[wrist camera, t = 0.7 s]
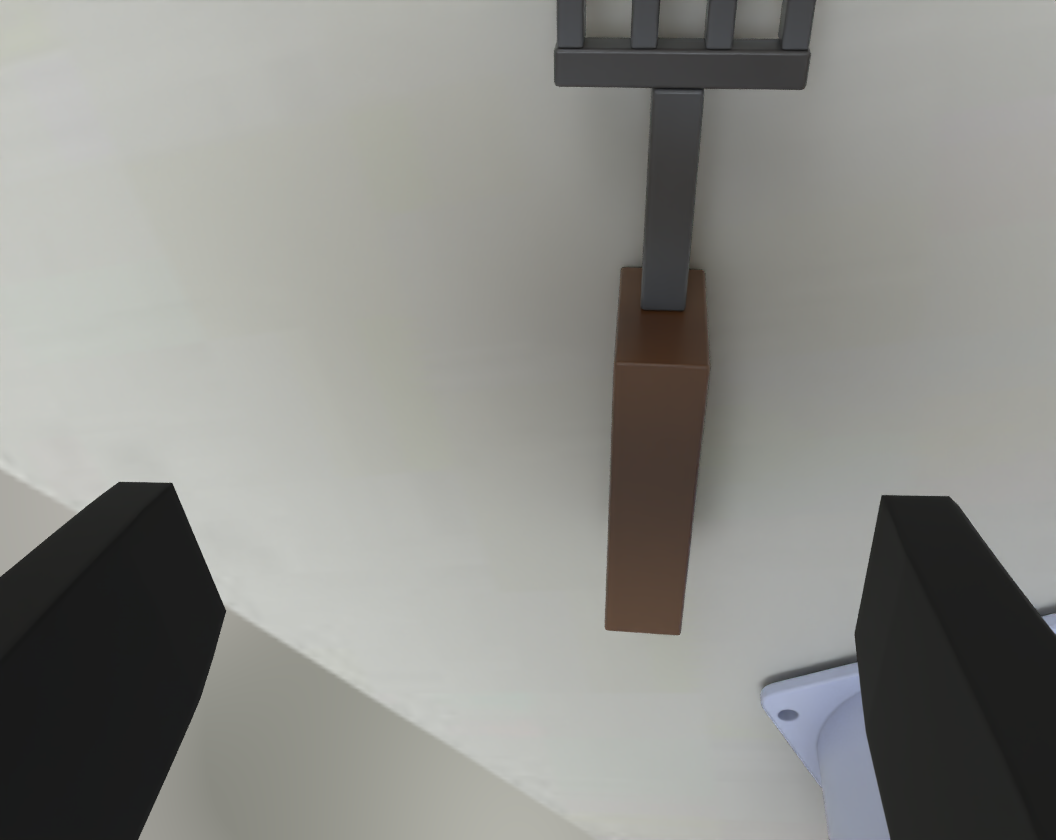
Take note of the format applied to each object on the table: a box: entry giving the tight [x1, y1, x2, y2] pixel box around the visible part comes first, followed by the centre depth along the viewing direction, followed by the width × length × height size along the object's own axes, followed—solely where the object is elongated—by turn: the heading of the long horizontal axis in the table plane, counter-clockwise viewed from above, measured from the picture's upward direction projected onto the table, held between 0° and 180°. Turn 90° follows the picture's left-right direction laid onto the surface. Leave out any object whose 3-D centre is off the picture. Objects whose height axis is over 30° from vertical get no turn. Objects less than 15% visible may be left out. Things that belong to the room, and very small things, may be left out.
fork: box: [554, 0, 816, 635], centre depth 17 cm, size 14×4×3 cm, turn 2°
